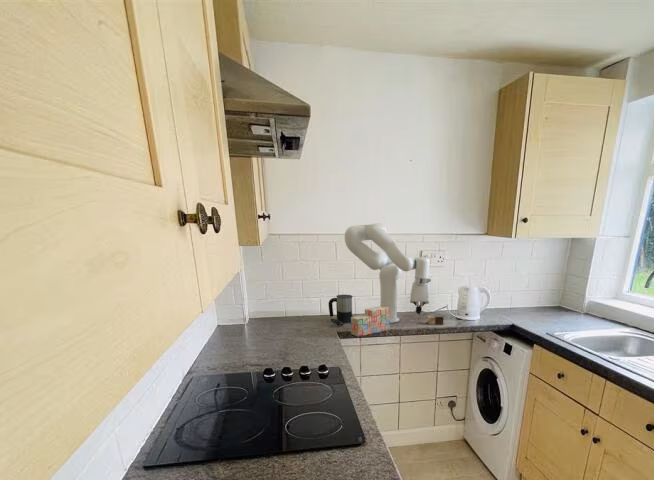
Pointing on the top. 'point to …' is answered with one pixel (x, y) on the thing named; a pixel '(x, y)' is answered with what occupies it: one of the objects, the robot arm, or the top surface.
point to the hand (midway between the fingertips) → (418, 313)
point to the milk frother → (341, 309)
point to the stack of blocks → (371, 321)
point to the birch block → (431, 320)
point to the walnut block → (439, 319)
